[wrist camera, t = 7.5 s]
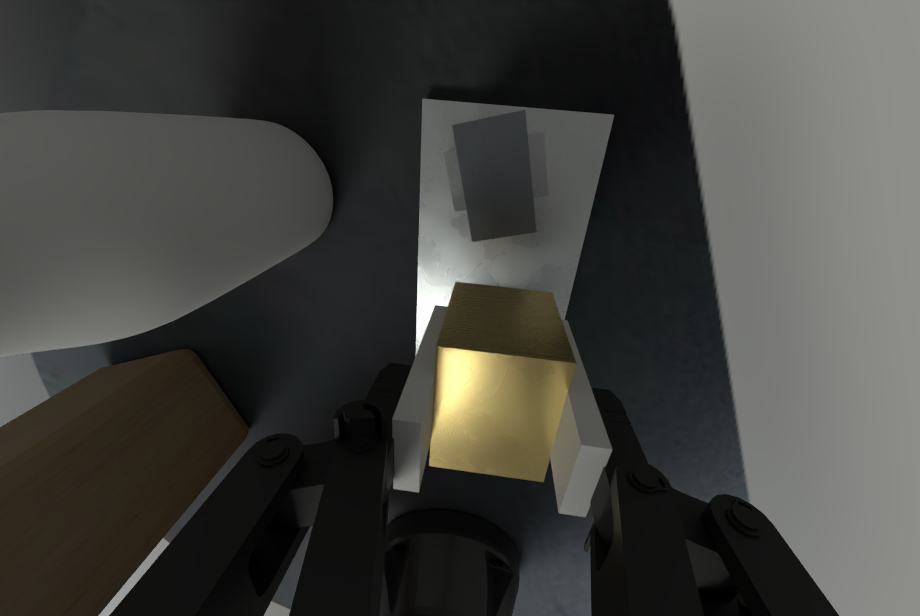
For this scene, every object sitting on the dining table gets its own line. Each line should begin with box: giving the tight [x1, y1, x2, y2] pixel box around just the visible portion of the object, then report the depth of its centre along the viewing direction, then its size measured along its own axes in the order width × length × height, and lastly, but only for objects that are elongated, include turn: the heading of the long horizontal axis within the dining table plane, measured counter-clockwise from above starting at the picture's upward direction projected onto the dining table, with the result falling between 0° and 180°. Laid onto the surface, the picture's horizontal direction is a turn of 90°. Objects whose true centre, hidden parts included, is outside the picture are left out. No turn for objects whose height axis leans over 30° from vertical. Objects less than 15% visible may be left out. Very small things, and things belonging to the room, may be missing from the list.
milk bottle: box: [0, 110, 333, 358], centre depth 14 cm, size 8×8×20 cm
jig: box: [416, 99, 614, 354], centre depth 21 cm, size 19×10×6 cm, turn 175°
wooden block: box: [0, 349, 249, 616], centre depth 23 cm, size 10×10×20 cm
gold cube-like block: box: [429, 282, 576, 482], centre depth 13 cm, size 5×4×5 cm
